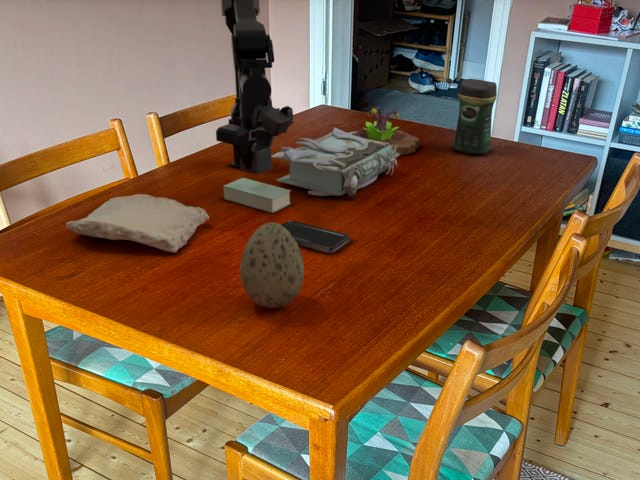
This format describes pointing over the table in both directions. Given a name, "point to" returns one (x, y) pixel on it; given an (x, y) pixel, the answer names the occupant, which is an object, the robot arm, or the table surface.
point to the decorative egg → (272, 266)
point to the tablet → (143, 221)
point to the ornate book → (337, 163)
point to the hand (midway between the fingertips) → (255, 165)
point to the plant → (388, 133)
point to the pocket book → (257, 195)
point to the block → (259, 159)
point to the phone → (316, 237)
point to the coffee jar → (475, 116)
